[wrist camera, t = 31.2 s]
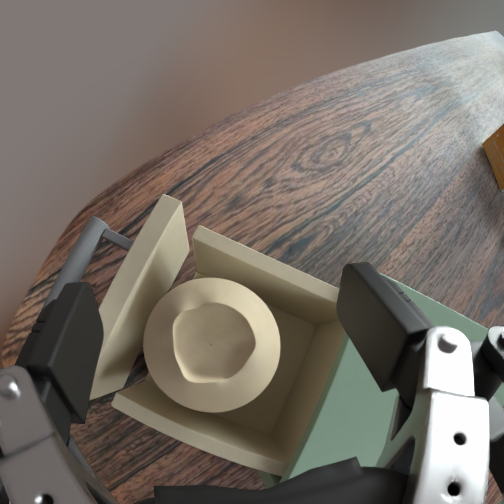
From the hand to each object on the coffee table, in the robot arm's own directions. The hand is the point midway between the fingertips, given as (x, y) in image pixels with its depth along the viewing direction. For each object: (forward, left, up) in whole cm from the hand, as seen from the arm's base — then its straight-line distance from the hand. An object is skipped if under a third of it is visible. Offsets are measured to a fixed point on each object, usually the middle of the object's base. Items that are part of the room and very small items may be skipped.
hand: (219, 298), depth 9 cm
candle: (0, -1, -12) cm, 12 cm away
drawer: (-1, -1, -13) cm, 13 cm away
